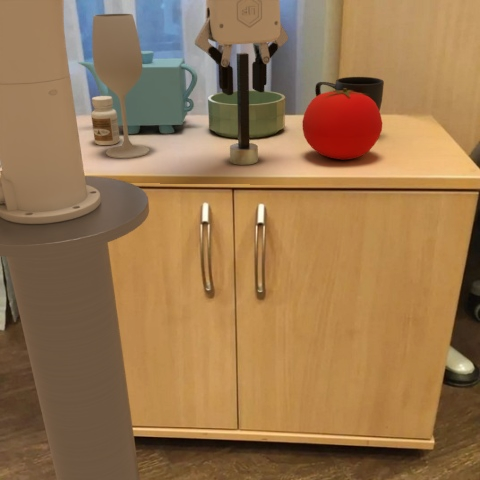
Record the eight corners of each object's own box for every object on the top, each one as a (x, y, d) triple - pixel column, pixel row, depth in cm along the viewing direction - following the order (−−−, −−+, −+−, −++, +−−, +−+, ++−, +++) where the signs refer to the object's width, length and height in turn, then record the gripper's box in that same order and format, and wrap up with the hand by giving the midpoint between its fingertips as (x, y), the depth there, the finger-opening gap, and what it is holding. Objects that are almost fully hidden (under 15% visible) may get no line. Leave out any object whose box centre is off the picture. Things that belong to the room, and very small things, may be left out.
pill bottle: (90, 144, 106) (84, 99, 103) (102, 138, 110) (97, 94, 106) (112, 146, 105) (106, 100, 101) (124, 140, 109) (119, 95, 105)
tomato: (391, 160, 95) (399, 90, 90) (325, 171, 91) (329, 98, 86) (351, 143, 104) (355, 79, 99) (289, 153, 100) (290, 86, 94)
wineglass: (134, 160, 97) (119, 17, 87) (95, 155, 100) (77, 16, 90) (158, 148, 103) (147, 13, 93) (121, 144, 106) (107, 13, 96)
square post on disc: (236, 166, 94) (233, 56, 86) (226, 159, 97) (223, 52, 89) (262, 163, 95) (262, 54, 87) (251, 156, 98) (250, 50, 91)
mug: (323, 126, 115) (326, 74, 111) (384, 133, 110) (390, 78, 105) (306, 136, 109) (308, 81, 104) (370, 143, 104) (375, 86, 99)
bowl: (224, 142, 106) (223, 107, 103) (199, 125, 118) (198, 93, 115) (297, 134, 110) (298, 100, 107) (266, 118, 122) (266, 87, 119)
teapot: (201, 120, 122) (198, 46, 115) (197, 133, 112) (193, 54, 105) (93, 122, 122) (83, 48, 115) (79, 135, 112) (68, 56, 106)
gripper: (189, -48, 76) (197, 101, 85) (309, -49, 82) (304, 91, 90) (173, -46, 82) (182, 92, 91) (285, -48, 88) (283, 84, 97)
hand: (243, 91), depth 91 cm, fingers open, 4 cm apart
